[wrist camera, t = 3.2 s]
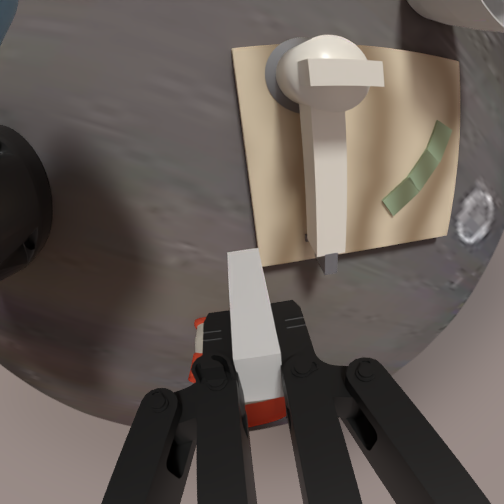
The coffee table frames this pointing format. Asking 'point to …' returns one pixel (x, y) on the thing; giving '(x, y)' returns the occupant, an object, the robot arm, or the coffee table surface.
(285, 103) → the board
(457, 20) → the cup
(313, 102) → the lever
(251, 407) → the toy
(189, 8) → the coffee table surface
